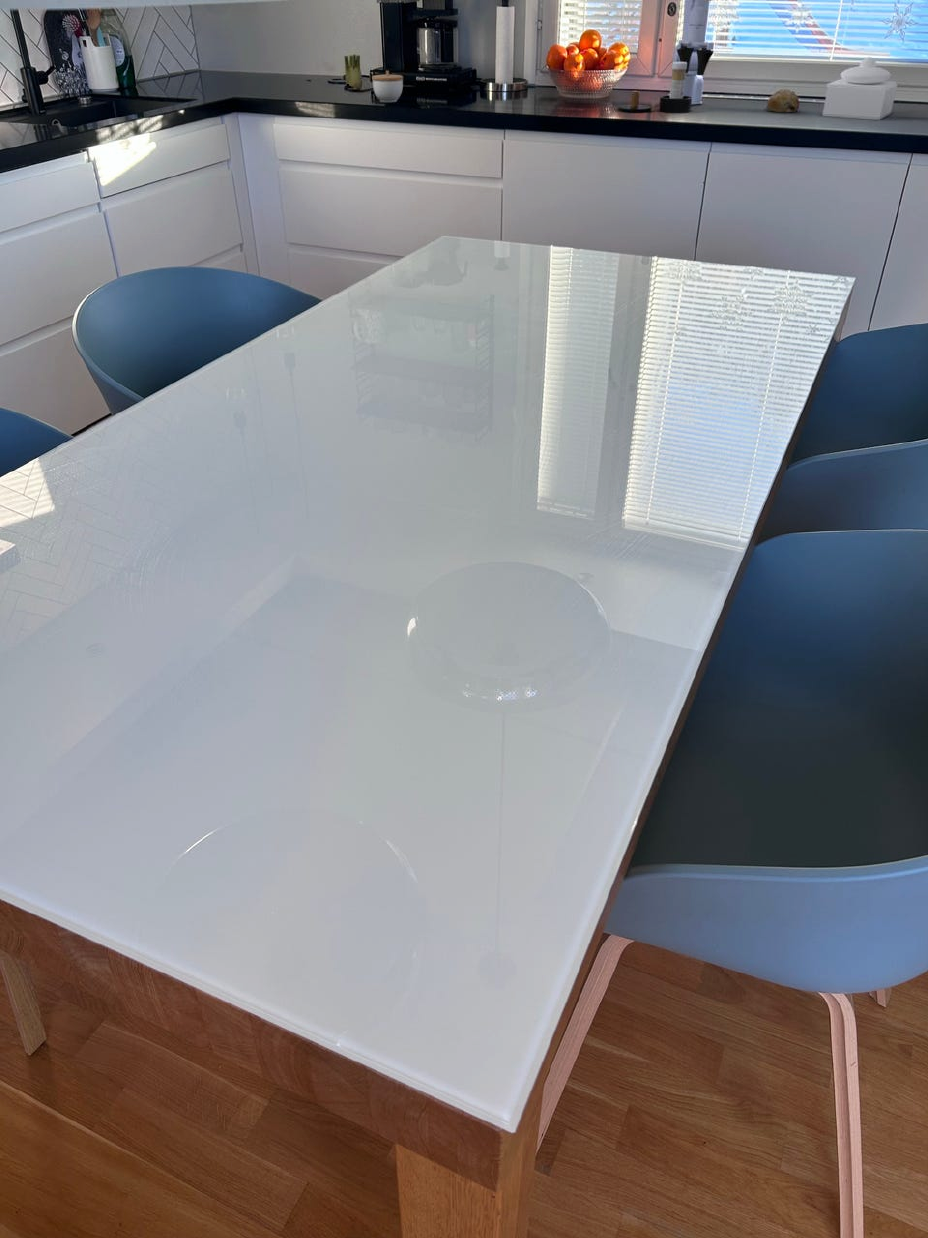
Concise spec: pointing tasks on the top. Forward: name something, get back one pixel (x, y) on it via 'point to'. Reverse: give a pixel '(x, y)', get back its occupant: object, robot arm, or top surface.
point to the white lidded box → (861, 93)
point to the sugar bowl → (388, 87)
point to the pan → (675, 104)
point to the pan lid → (634, 104)
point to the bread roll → (783, 102)
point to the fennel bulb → (353, 72)
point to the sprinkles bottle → (678, 80)
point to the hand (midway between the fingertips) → (692, 74)
